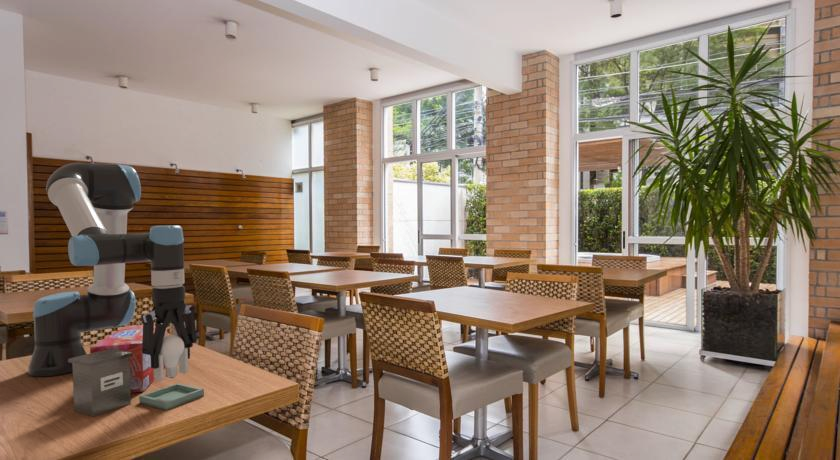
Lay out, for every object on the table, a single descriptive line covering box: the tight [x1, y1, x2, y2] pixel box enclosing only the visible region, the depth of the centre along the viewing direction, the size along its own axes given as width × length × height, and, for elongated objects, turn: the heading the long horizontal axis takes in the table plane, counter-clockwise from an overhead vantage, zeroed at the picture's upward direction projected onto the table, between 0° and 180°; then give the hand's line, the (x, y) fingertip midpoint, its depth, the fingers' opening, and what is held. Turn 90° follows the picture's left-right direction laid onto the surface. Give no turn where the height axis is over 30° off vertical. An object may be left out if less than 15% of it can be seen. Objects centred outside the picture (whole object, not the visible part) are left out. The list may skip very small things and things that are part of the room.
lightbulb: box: [160, 334, 184, 379], centre depth 127 cm, size 6×6×11 cm
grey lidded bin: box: [68, 349, 133, 417], centre depth 123 cm, size 9×10×13 cm
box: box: [89, 323, 168, 394], centre depth 144 cm, size 27×13×14 cm, turn 14°
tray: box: [138, 382, 205, 411], centre depth 127 cm, size 11×11×2 cm
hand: (171, 376), depth 127 cm, fingers closed on lightbulb, 6 cm apart
